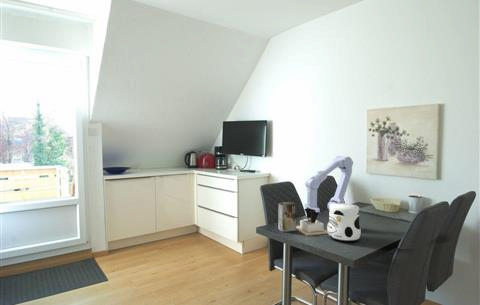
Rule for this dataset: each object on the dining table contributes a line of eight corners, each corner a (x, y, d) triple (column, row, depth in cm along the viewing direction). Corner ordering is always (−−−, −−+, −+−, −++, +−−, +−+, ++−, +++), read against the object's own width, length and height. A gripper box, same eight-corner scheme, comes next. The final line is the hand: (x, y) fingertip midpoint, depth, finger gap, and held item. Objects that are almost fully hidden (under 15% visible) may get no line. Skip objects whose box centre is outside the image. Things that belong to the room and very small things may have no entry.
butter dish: (316, 225, 194) (316, 217, 193) (331, 233, 177) (331, 224, 177) (292, 227, 189) (293, 219, 189) (306, 235, 173) (306, 226, 173)
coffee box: (291, 227, 187) (292, 201, 187) (296, 230, 181) (296, 204, 181) (277, 228, 185) (278, 202, 184) (282, 232, 179) (282, 204, 178)
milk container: (321, 238, 168) (321, 205, 167) (336, 231, 180) (337, 201, 179) (351, 246, 156) (352, 211, 155) (365, 238, 168) (366, 206, 167)
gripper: (300, 196, 188) (299, 218, 189) (312, 201, 174) (311, 225, 175) (310, 196, 190) (310, 218, 191) (323, 201, 176) (322, 224, 177)
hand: (311, 221), depth 183 cm, fingers closed on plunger, 4 cm apart
